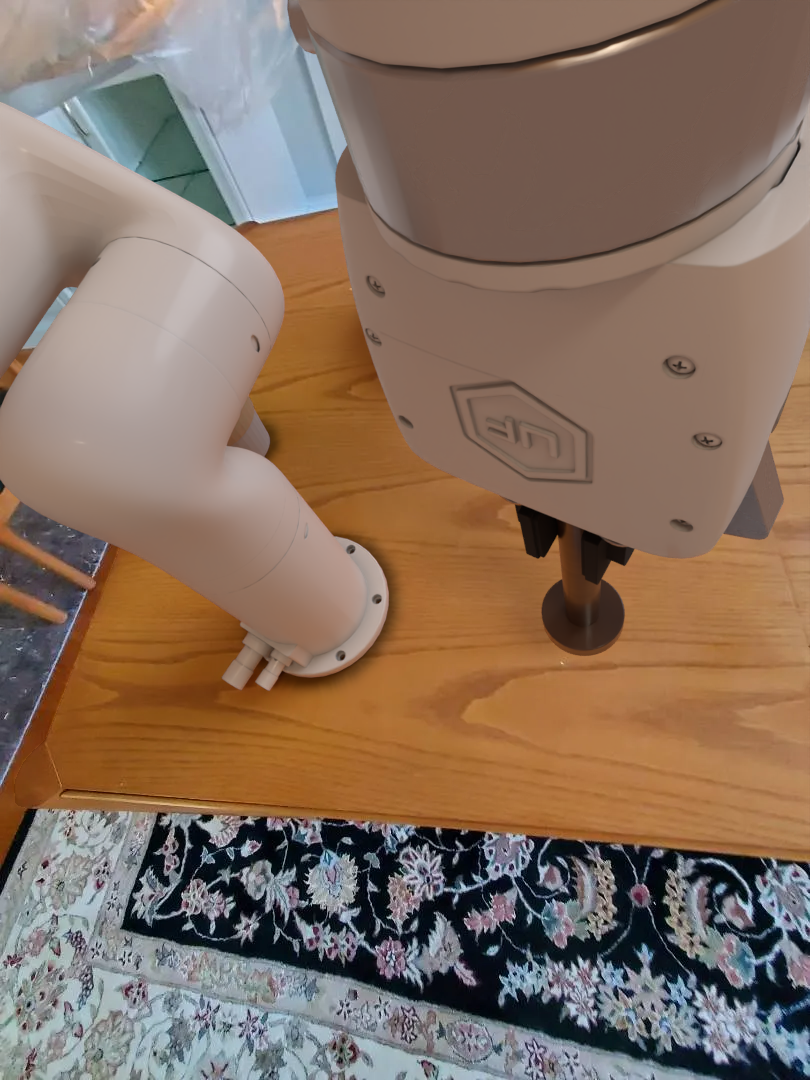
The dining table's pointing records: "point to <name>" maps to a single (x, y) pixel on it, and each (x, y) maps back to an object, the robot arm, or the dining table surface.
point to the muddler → (580, 603)
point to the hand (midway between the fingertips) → (578, 538)
